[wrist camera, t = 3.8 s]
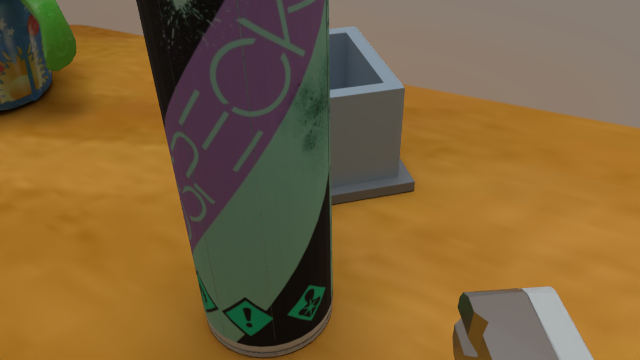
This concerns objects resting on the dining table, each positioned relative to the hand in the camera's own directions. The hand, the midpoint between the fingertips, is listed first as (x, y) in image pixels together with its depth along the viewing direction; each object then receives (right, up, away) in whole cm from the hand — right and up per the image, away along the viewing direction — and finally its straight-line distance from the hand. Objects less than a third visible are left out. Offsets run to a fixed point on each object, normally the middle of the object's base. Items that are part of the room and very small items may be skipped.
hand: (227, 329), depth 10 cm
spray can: (-1, -3, +15) cm, 15 cm away
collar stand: (+1, +4, +24) cm, 24 cm away
